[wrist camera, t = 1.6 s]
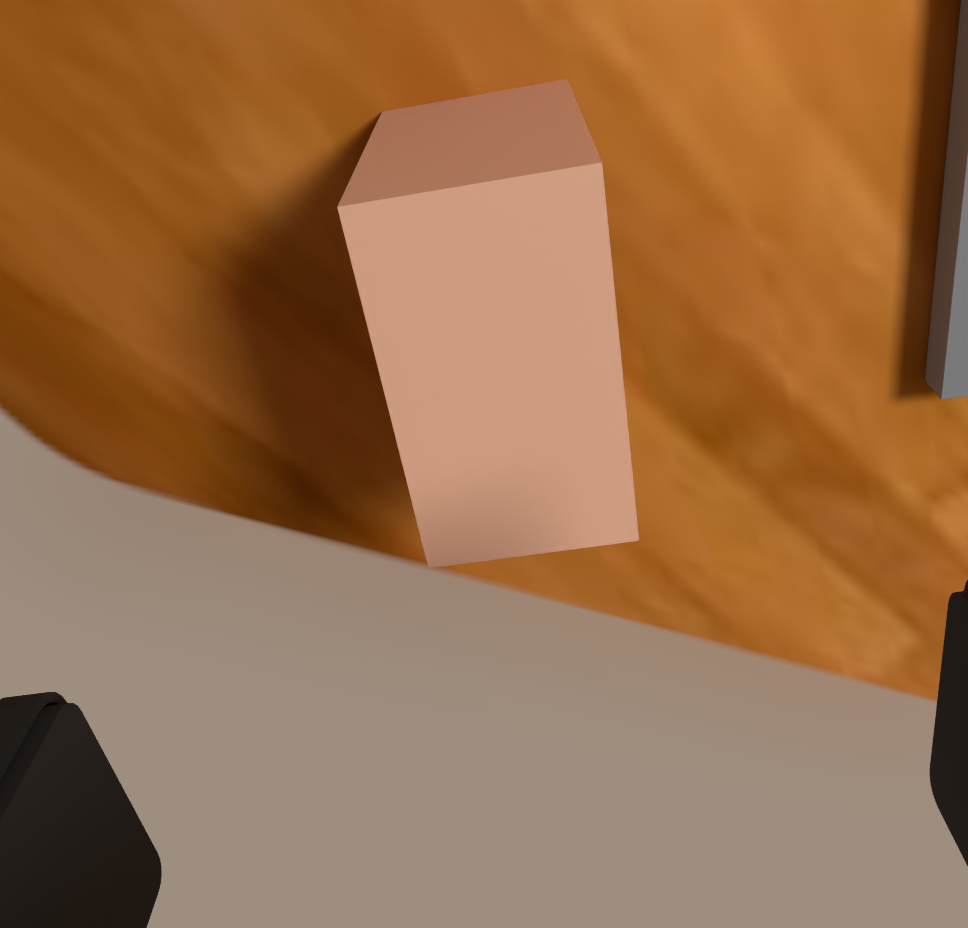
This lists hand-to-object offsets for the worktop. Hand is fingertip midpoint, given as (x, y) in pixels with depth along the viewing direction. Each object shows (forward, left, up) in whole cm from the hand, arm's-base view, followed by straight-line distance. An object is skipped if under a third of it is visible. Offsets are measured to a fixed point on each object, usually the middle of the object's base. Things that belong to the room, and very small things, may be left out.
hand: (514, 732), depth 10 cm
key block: (-1, 0, -14) cm, 14 cm away
